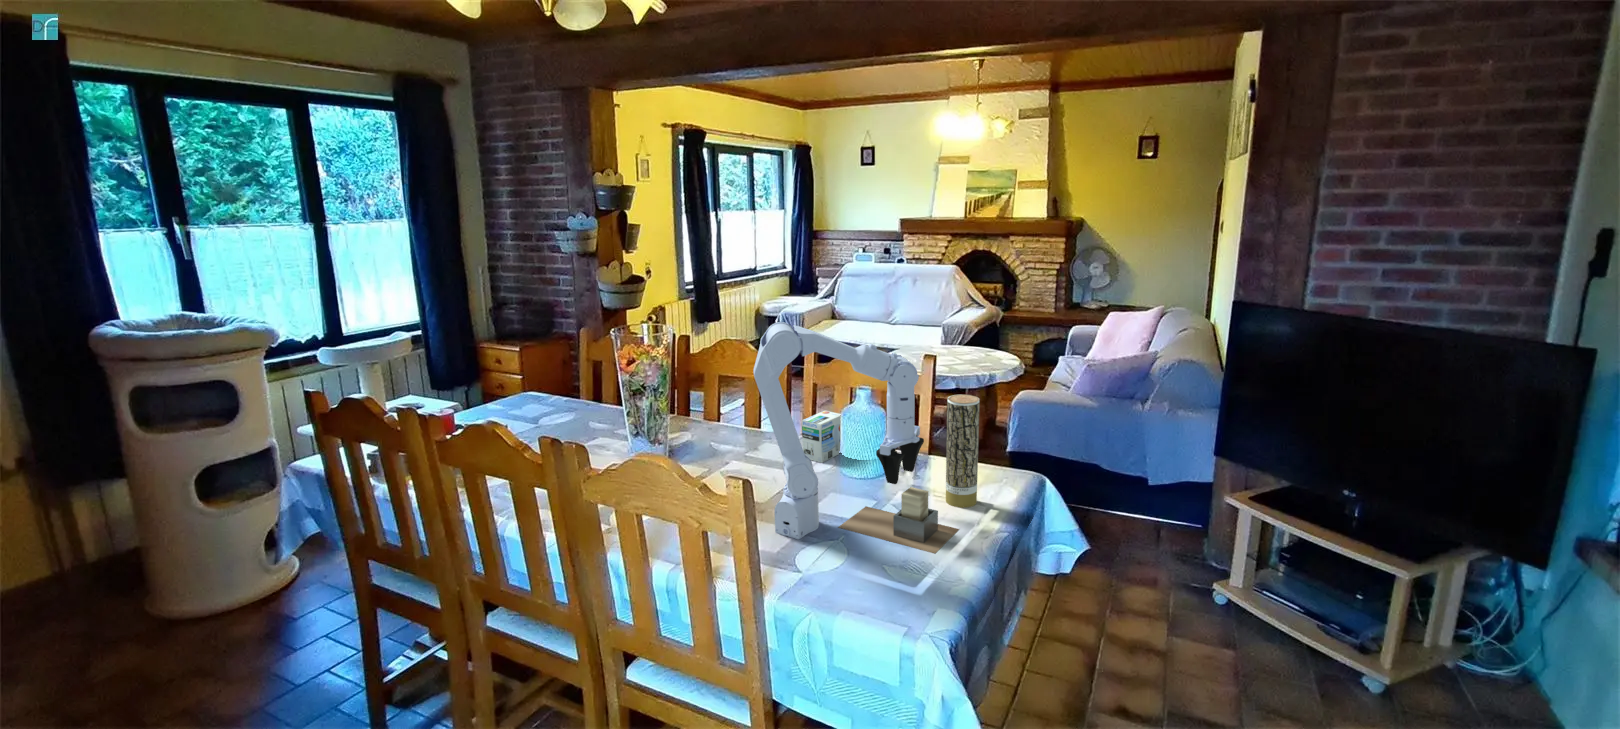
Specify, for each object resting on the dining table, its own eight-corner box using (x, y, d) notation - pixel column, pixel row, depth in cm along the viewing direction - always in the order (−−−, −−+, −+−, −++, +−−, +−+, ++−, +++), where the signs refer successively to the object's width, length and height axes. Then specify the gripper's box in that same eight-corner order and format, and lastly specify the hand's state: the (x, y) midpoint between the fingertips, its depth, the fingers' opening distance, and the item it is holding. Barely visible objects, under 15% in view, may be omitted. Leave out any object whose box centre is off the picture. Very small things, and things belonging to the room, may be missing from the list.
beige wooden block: (919, 535, 149) (919, 498, 147) (901, 530, 151) (901, 493, 149) (927, 527, 152) (928, 491, 150) (910, 522, 154) (910, 487, 153)
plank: (935, 559, 143) (935, 553, 143) (837, 532, 155) (837, 527, 155) (959, 534, 153) (959, 529, 153) (866, 511, 165) (865, 506, 165)
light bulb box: (822, 463, 194) (821, 424, 191) (801, 458, 198) (800, 420, 195) (845, 451, 202) (844, 413, 199) (825, 446, 206) (824, 409, 203)
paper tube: (976, 513, 162) (979, 403, 156) (945, 511, 164) (947, 402, 158) (976, 500, 169) (979, 394, 163) (945, 498, 170) (947, 394, 164)
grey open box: (923, 543, 147) (923, 523, 146) (893, 535, 151) (893, 515, 150) (937, 530, 153) (938, 510, 152) (908, 522, 156) (908, 503, 155)
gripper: (902, 428, 146) (902, 492, 149) (933, 408, 157) (932, 468, 161) (870, 422, 149) (871, 485, 153) (903, 404, 161) (902, 463, 164)
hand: (900, 476), depth 157 cm, fingers open, 7 cm apart
